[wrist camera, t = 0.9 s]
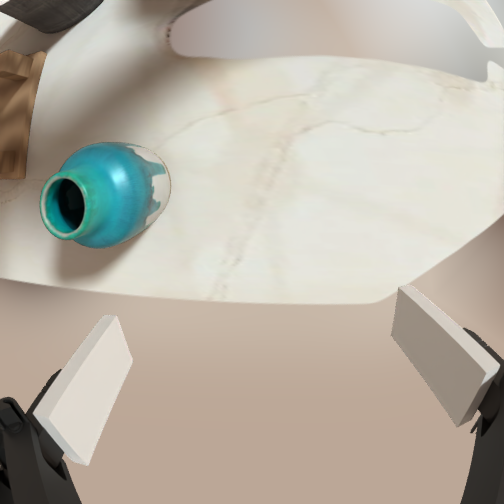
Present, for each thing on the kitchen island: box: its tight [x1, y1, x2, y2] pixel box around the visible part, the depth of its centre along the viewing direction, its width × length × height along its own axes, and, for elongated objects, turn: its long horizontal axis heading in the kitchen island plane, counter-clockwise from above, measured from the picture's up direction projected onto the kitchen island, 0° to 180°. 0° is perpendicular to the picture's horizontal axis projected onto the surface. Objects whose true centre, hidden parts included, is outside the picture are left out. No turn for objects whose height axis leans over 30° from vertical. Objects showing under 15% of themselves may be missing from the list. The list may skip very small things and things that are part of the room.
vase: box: [40, 142, 171, 249], centre depth 27 cm, size 11×11×19 cm
